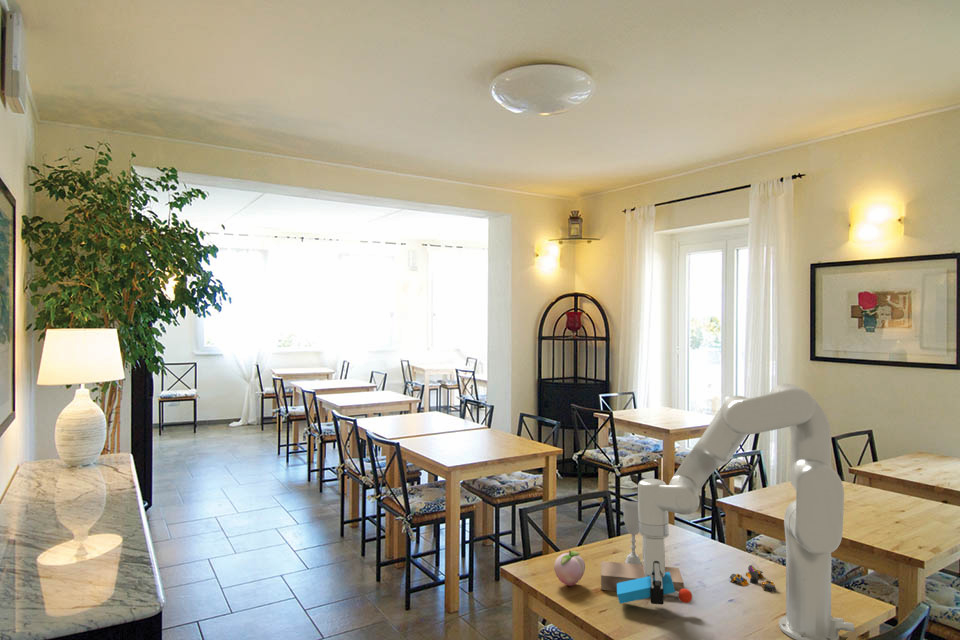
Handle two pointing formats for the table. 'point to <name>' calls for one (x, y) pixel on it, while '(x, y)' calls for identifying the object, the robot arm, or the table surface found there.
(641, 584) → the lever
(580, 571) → the decorative fruit
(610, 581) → the walnut riser block
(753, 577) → the toy set
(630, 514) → the chalice
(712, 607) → the table surface
